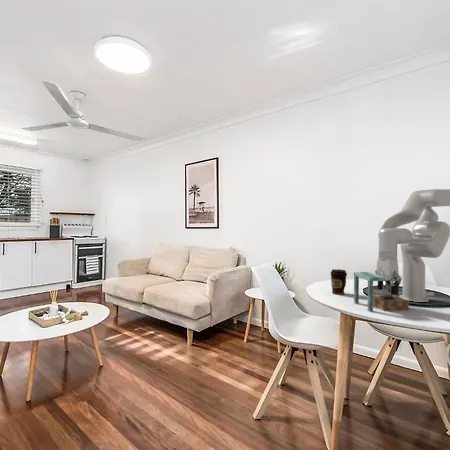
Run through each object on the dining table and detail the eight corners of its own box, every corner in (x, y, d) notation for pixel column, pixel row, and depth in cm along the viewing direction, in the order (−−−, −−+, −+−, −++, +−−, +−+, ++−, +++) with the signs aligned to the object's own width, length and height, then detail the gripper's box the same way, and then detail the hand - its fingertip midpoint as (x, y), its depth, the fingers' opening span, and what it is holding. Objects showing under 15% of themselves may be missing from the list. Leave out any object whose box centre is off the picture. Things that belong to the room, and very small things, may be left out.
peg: (380, 305, 136) (380, 279, 136) (388, 304, 136) (388, 279, 136) (386, 307, 132) (386, 281, 132) (394, 307, 132) (394, 281, 132)
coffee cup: (341, 296, 151) (342, 272, 151) (327, 293, 157) (327, 269, 157) (349, 293, 157) (349, 270, 156) (335, 290, 163) (335, 268, 163)
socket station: (390, 301, 141) (390, 271, 141) (409, 310, 128) (409, 276, 128) (353, 302, 139) (353, 272, 139) (369, 311, 126) (369, 277, 126)
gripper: (369, 253, 142) (369, 287, 142) (392, 257, 124) (392, 297, 125) (383, 253, 142) (383, 287, 143) (408, 257, 125) (408, 296, 125)
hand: (387, 291), depth 134 cm, fingers open, 9 cm apart
